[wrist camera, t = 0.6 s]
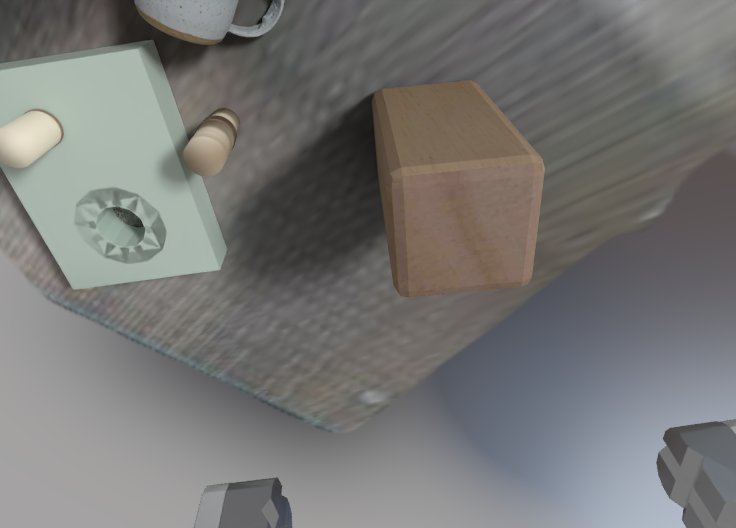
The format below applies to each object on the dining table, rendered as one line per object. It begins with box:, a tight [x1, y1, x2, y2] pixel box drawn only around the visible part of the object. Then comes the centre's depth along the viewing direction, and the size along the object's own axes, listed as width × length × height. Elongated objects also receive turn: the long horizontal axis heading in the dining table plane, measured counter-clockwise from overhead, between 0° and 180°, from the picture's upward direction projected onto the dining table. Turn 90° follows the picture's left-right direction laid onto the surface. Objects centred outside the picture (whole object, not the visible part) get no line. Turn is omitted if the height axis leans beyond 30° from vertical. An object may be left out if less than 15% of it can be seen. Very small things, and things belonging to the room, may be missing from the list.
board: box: [0, 40, 227, 290], centre depth 46 cm, size 22×16×9 cm
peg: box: [183, 108, 240, 177], centre depth 44 cm, size 3×3×9 cm
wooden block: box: [372, 80, 545, 298], centre depth 41 cm, size 10×10×20 cm
